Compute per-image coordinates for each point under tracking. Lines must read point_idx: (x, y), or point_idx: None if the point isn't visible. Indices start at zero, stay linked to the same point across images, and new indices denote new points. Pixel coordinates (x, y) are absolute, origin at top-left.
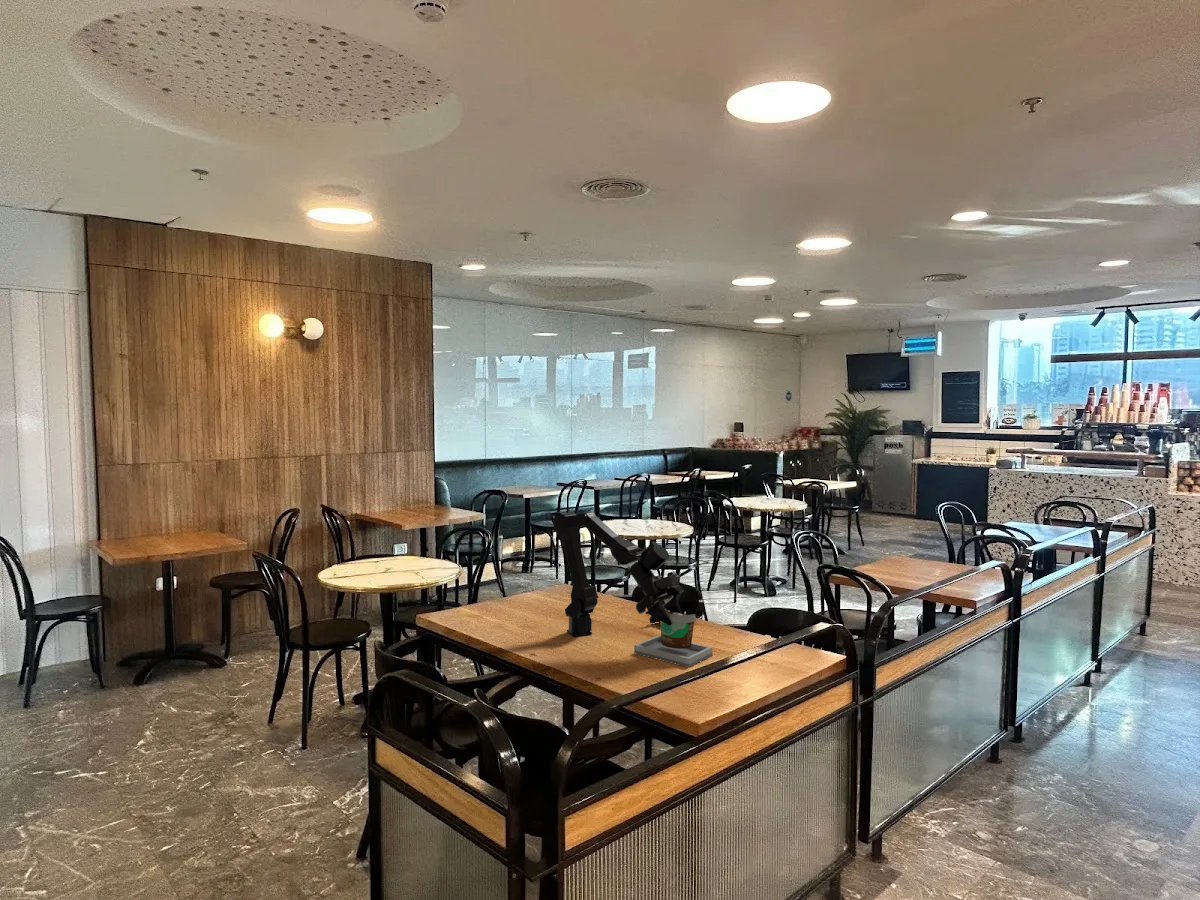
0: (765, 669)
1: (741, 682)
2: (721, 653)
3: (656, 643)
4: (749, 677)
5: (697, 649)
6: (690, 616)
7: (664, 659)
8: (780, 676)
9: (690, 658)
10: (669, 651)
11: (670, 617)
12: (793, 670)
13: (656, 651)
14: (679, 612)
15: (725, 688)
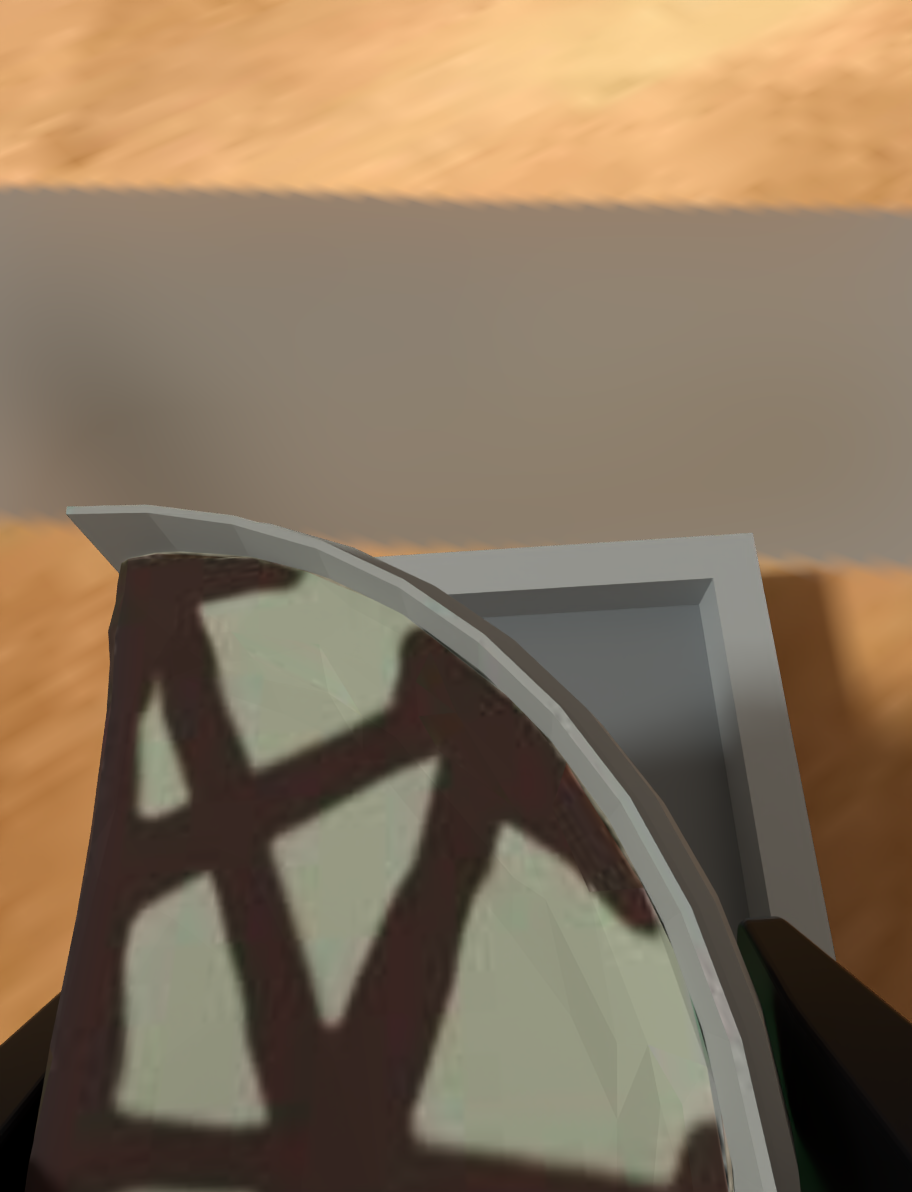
0: (252, 123)
1: (659, 97)
2: (60, 586)
3: None
4: (512, 112)
5: None
6: (277, 543)
7: None
8: (327, 4)
9: (711, 537)
10: None
11: (764, 1030)
12: (143, 7)
13: None
14: (2, 1162)
15: (875, 105)
